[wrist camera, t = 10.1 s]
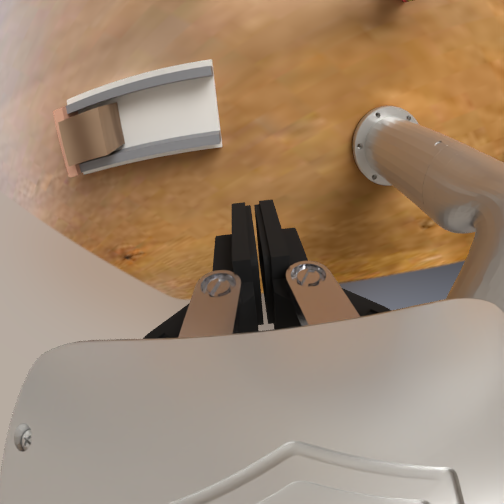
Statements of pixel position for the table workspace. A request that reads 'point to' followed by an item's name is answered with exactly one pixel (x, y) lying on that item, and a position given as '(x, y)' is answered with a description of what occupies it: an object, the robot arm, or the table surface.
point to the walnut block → (91, 134)
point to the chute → (153, 114)
